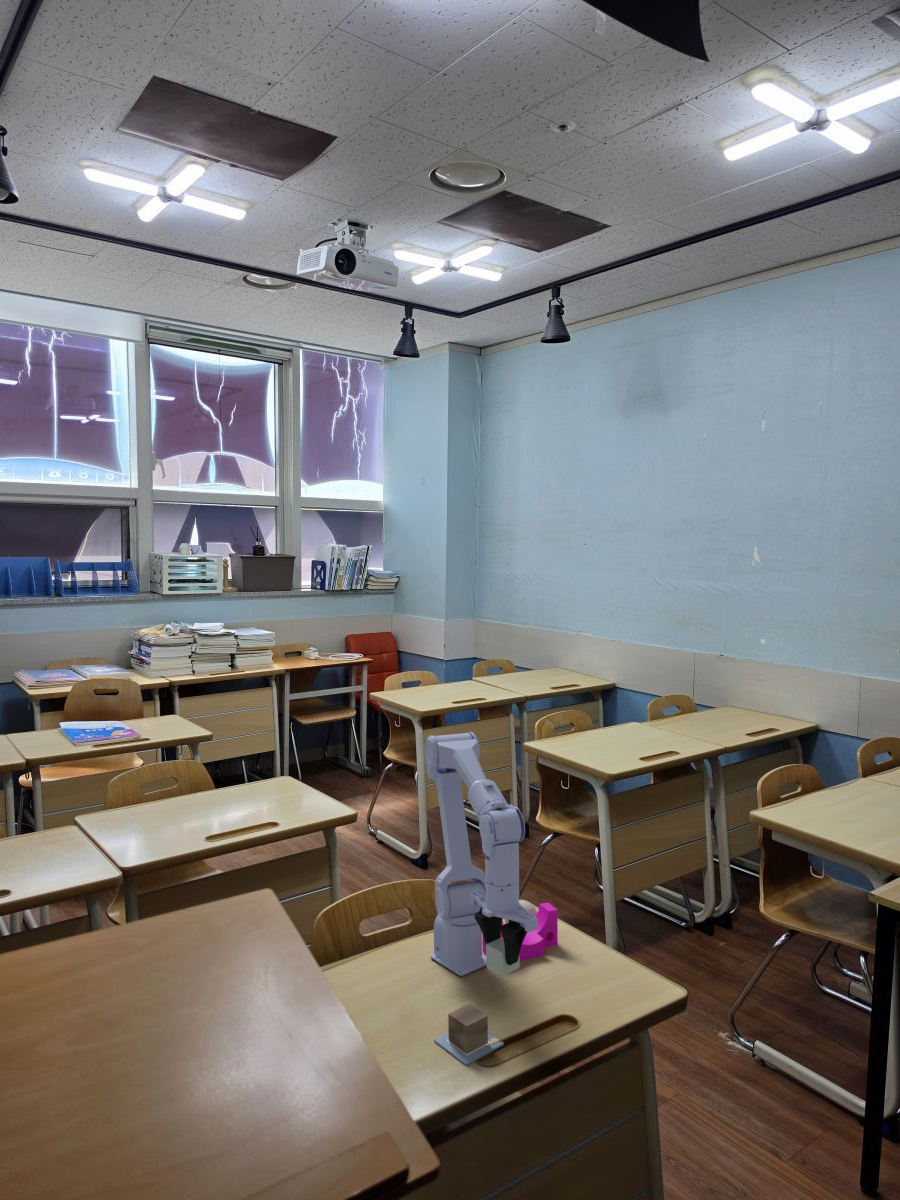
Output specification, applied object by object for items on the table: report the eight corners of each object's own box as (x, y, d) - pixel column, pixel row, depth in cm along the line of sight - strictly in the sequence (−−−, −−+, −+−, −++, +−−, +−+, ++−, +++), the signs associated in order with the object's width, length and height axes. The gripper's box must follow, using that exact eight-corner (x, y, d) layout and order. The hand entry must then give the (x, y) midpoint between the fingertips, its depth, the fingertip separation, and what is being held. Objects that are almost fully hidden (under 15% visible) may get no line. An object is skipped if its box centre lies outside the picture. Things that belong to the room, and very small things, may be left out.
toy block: (496, 967, 152) (496, 929, 151) (482, 952, 157) (482, 915, 157) (564, 951, 158) (563, 914, 157) (548, 937, 163) (548, 902, 163)
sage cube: (486, 967, 135) (486, 944, 135) (503, 959, 138) (502, 936, 138) (502, 976, 132) (502, 952, 132) (519, 967, 135) (519, 944, 135)
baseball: (523, 945, 160) (522, 912, 160) (498, 932, 166) (498, 900, 165) (546, 934, 164) (546, 903, 164) (521, 922, 170) (521, 892, 170)
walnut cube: (448, 1040, 128) (448, 1013, 128) (469, 1029, 131) (469, 1003, 130) (466, 1054, 124) (466, 1026, 124) (487, 1042, 127) (487, 1015, 127)
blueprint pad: (434, 1041, 128) (434, 1039, 128) (471, 1022, 133) (471, 1021, 133) (466, 1065, 122) (466, 1063, 122) (503, 1045, 127) (503, 1043, 127)
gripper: (456, 873, 137) (457, 949, 138) (515, 900, 126) (516, 982, 127) (486, 862, 142) (486, 936, 143) (545, 887, 131) (546, 967, 132)
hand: (502, 957), depth 135 cm, fingers closed on sage cube, 4 cm apart
